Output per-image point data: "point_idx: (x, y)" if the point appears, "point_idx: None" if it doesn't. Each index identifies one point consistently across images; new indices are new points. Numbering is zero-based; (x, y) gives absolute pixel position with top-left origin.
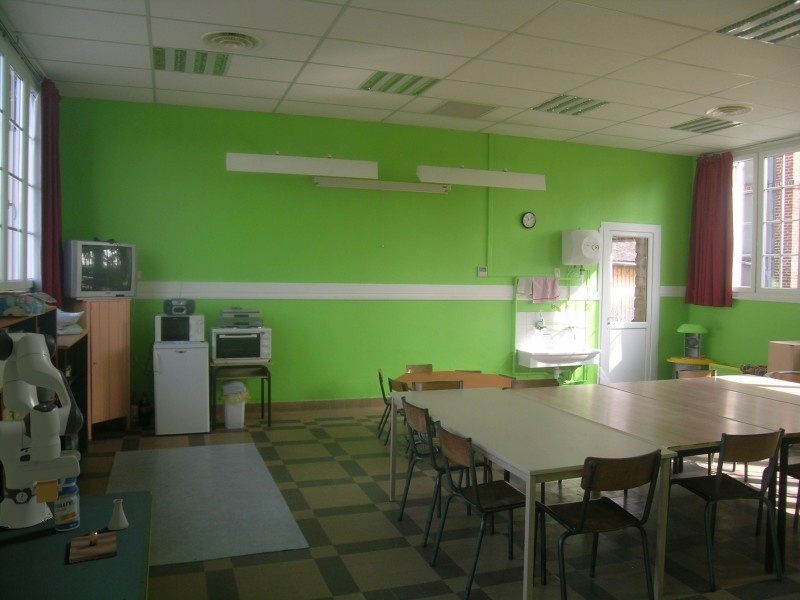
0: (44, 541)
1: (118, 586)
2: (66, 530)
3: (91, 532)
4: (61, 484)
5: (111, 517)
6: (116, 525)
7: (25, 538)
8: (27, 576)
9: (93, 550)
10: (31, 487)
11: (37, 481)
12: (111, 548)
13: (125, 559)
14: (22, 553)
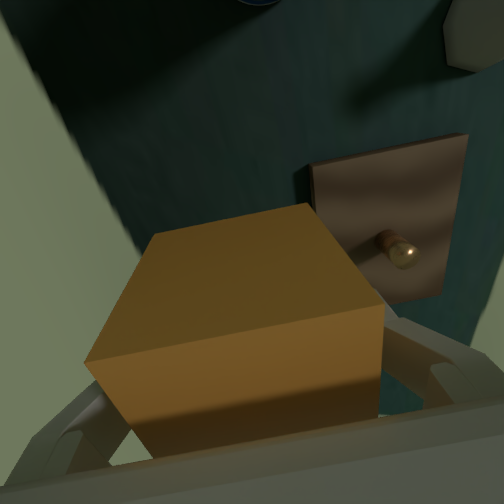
0: (203, 122)
1: (415, 401)
2: (265, 4)
3: (401, 253)
4: (406, 379)
5: (501, 12)
6: (488, 61)
7: (104, 58)
8: None
9: (384, 279)
10: (116, 439)
11: (112, 400)
12: (431, 276)
13: (447, 309)
14: (168, 220)
